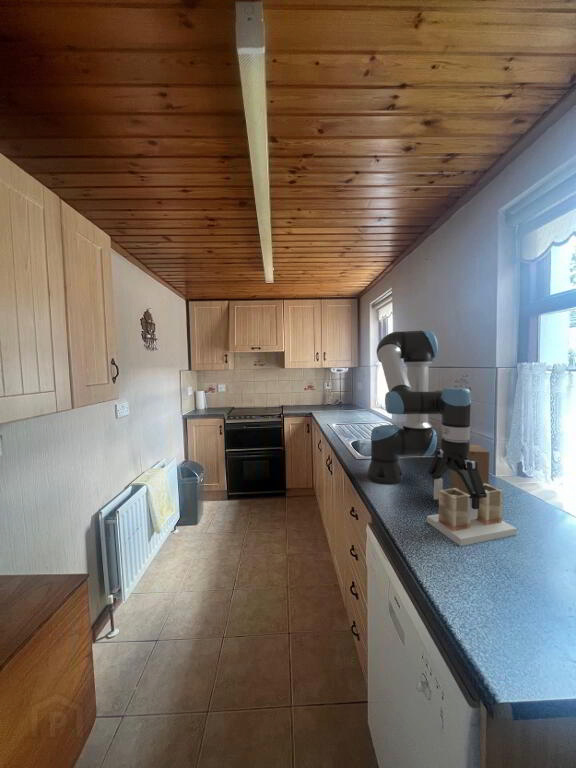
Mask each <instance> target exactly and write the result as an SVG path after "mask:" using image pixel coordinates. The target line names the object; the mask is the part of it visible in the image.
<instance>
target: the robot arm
mask: <svg viewBox="0 0 576 768" xmlns="http://www.w3.org/2000/svg"><path fill="white" fill-rule="evenodd" d="M438 353H439V344H438V339H437V336H436V334H435V333H434V332H433V331H431V330H411V331H410V330H407V331H398V330H397V331H392V332H391V333H388V334H386V335H385V336H384V337H383V338H382V339H380V341H379V343H378V344H377V347H376V358H377V360H378V362H380V363H381V366H382V370H383V375H384V378H385V382H386V385H387V388H388V391H387V392H385V398H384V406H385V411H386V412H387V414H389V415H391V414H392V415H406V421H405V422H404V423H403V424H402V428H399V426H398V425H395V424H384V425H377V426H375V427H373V428H372V429H371V434H370V442H371V444H370V452H371V453H370V457H371V458H370V463H369V466H368V469H367V470H366V472H367V473H366V476H367V479H368V480H369V481H372V482H374V483H376V484H377V483H378V484H383V485H395V484H400V483H402V481H404V480H403V477H404V476H403V472H402V469H401V466H400V462H399V456H403V457H407V456H409V457H411V456H412V457H428V456H432V455H433V454H435V455H434V457H433V461H432V463H431V464H430V467H429V469H428V471H427V474H428V475H430V476H431V477H432V480H433V481H432V487H433V500H435V501H436V500H437V501H438V500H439V490H444V488H443V486H444V480H443V475H444V474H445V473H446V472H447V471H448V470H450V469H452V470H454V471H456V472H457V473H458V475H460V476H461V478H462V480H463V482H464V484H465V486H466V488H467V490H468V492H469V494H470V496H468V515H467V519H469V520H472V519H477V514H478V509H479V500H480V498H485V497H487V495H486V492H485V489H484V486H483V483H482V481H481V478H480V475H479V472H478V468H477V462H476V461H469V460H468V459H467V455H468V454H469V452H470V444H471V442H470V441H469V440H471V405H472V397H471V390H470V389H468V388H466V387H454V386H453V387H451V386H450V387H444V388H443V389H442V390H434V391H429V376H430V375H429V372H430V371H429V367H430V365H431V364H432V363H433V359H436V358H437V357H438ZM402 360H403V361H402ZM404 365H406V370H405V366H404ZM429 415H441V438H442V439H441V443H440V445H441V446H440V447H441V448H440V449H437V448H436V447H437V443H438V437H437V432H436V430H435V429H434V428H433V426H432V424H431V423H430V422H429ZM463 469H464V471H462V470H463ZM474 492H475V493H474Z"/></svg>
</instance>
